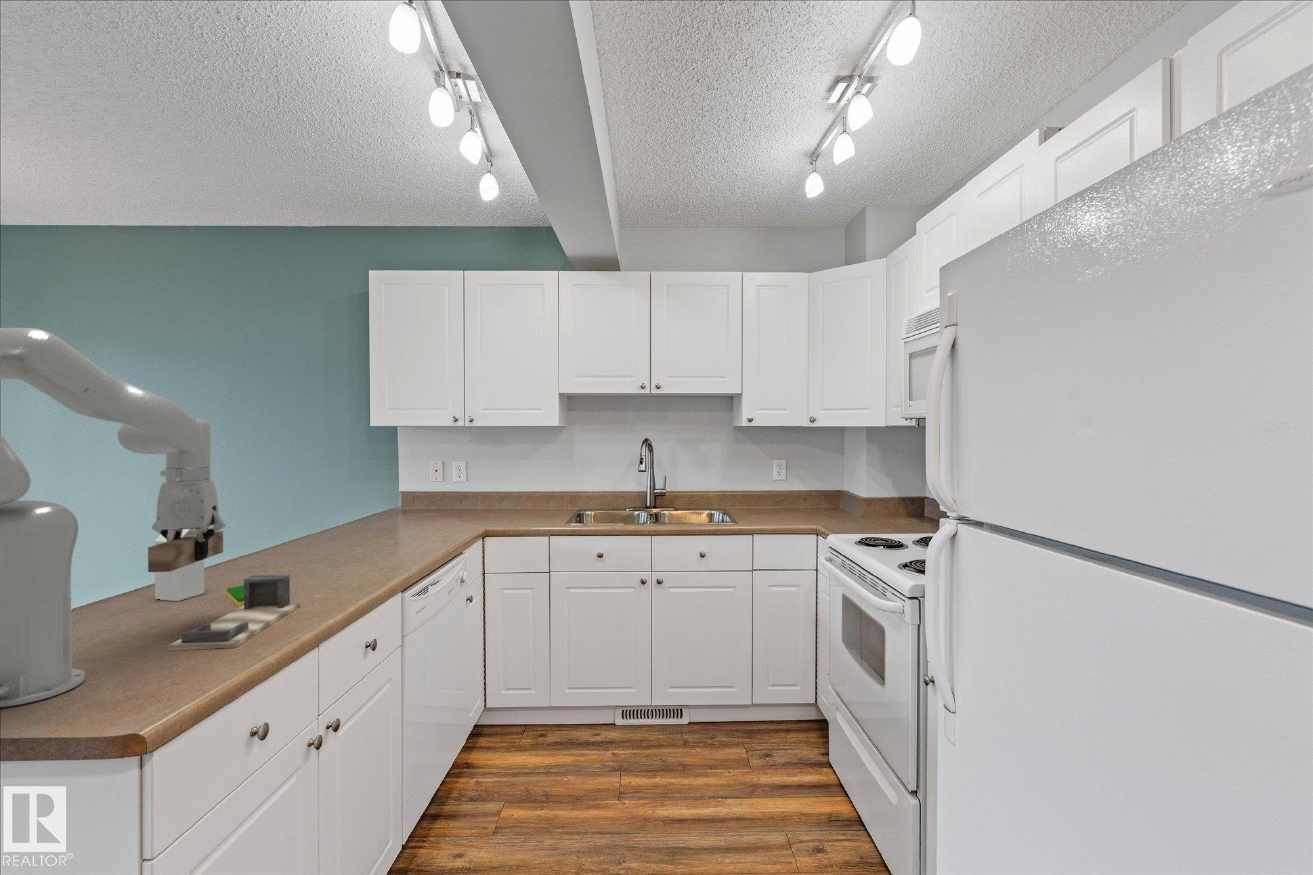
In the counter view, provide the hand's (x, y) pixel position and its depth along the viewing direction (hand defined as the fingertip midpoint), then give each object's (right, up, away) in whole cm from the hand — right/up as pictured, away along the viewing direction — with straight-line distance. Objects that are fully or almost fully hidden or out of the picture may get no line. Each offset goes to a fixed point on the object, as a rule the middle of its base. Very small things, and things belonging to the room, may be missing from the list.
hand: (189, 558), depth 127 cm
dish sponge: (-3, -15, +22) cm, 27 cm away
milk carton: (-21, -15, +23) cm, 34 cm away
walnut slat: (0, 0, 0) cm, 1 cm away
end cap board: (+10, -15, +2) cm, 18 cm away
